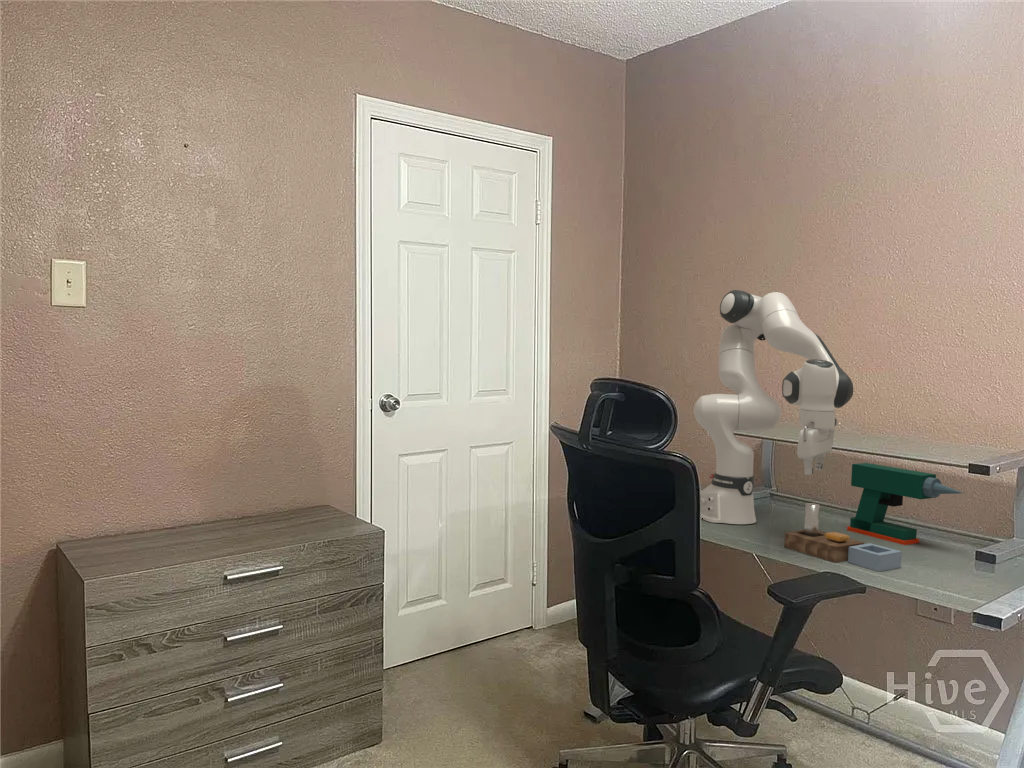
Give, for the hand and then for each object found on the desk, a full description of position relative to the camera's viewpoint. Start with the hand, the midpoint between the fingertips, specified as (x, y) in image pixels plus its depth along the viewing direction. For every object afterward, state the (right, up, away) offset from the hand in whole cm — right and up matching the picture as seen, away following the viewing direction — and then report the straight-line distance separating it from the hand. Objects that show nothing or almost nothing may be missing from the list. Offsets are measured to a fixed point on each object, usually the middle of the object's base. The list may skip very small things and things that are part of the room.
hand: (813, 472), depth 206 cm
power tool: (+30, -21, +12) cm, 39 cm away
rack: (+10, -22, -13) cm, 27 cm away
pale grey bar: (0, -21, +1) cm, 21 cm away
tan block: (+4, -21, -6) cm, 22 cm away
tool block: (+2, -21, -2) cm, 21 cm away
